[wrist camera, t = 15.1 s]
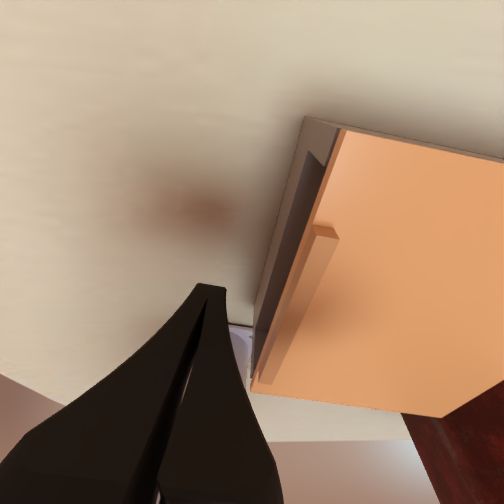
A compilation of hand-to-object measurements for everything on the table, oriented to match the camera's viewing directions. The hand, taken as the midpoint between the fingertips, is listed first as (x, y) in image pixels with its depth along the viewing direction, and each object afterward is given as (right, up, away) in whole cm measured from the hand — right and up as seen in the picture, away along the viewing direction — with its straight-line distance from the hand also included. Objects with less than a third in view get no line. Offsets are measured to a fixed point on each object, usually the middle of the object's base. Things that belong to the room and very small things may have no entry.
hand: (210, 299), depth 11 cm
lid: (+10, -2, +1) cm, 10 cm away
